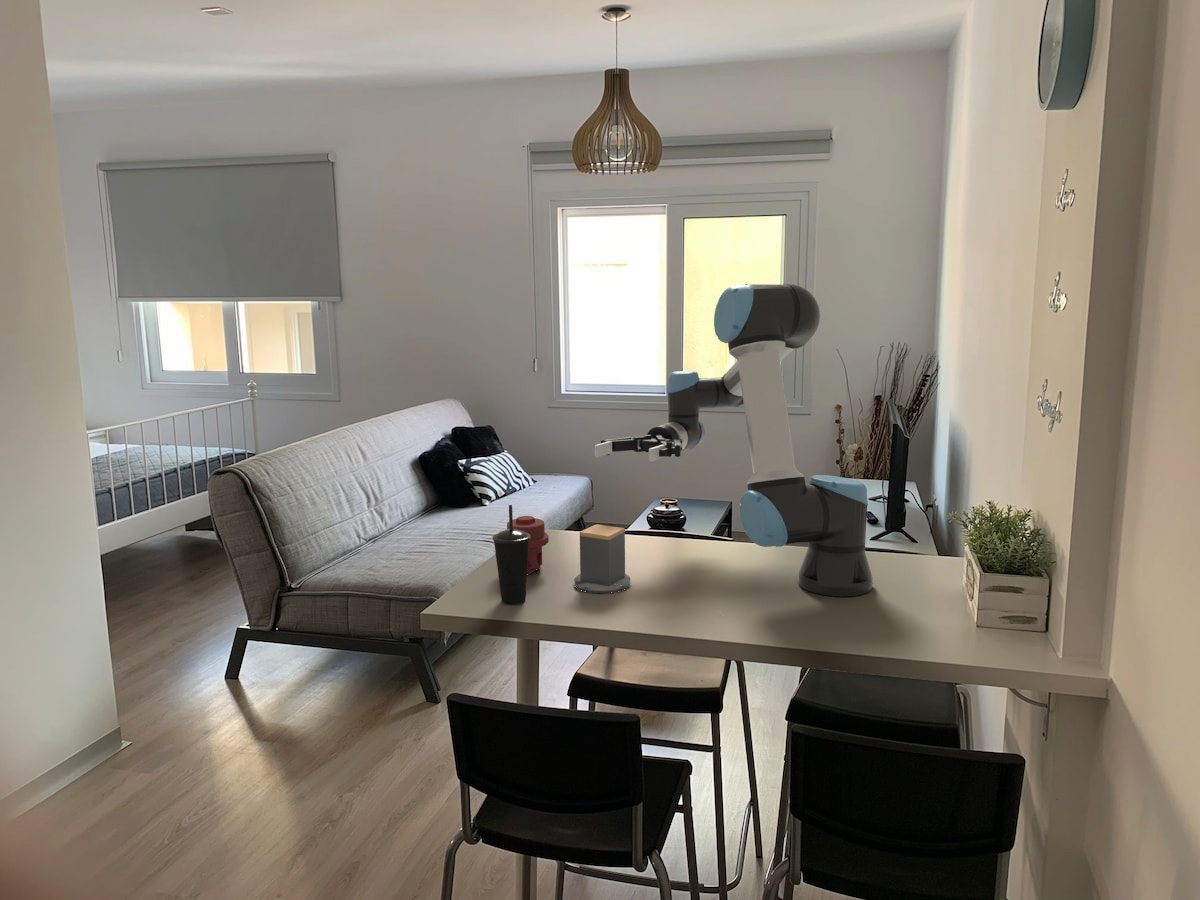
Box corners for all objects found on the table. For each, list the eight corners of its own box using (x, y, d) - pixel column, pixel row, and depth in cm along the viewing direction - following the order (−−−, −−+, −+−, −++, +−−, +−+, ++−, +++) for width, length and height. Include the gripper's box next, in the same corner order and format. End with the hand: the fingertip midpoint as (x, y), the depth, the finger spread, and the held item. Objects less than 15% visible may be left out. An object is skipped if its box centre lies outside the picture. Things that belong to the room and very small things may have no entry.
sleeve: (625, 576, 194) (624, 528, 192) (609, 586, 188) (608, 536, 186) (597, 572, 198) (596, 524, 196) (580, 581, 192) (579, 532, 190)
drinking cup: (499, 593, 188) (496, 500, 185) (535, 595, 187) (533, 501, 183) (490, 606, 181) (486, 509, 177) (527, 608, 180) (525, 510, 176)
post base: (636, 577, 197) (636, 546, 196) (622, 595, 186) (622, 562, 185) (583, 573, 200) (583, 542, 199) (567, 591, 189) (566, 558, 188)
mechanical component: (550, 564, 208) (547, 577, 198) (507, 564, 208) (502, 578, 198) (549, 512, 206) (546, 523, 196) (505, 512, 206) (500, 523, 196)
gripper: (714, 459, 210) (674, 474, 192) (620, 452, 222) (574, 466, 204) (714, 426, 208) (674, 439, 190) (620, 422, 221) (574, 433, 203)
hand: (622, 453), depth 197 cm, fingers open, 13 cm apart
